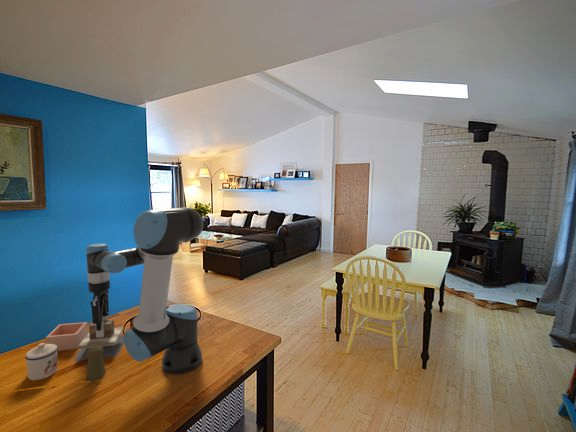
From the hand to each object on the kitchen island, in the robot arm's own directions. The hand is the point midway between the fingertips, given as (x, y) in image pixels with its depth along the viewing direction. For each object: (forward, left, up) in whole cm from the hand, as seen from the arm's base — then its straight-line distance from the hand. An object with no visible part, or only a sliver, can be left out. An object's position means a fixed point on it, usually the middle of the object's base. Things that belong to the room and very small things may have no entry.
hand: (102, 333), depth 123 cm
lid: (0, 0, -2) cm, 2 cm away
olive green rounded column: (-19, -4, -7) cm, 20 cm away
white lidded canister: (-12, +15, -7) cm, 20 cm away
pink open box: (+6, +15, -7) cm, 18 cm away
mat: (0, 0, -7) cm, 7 cm away
